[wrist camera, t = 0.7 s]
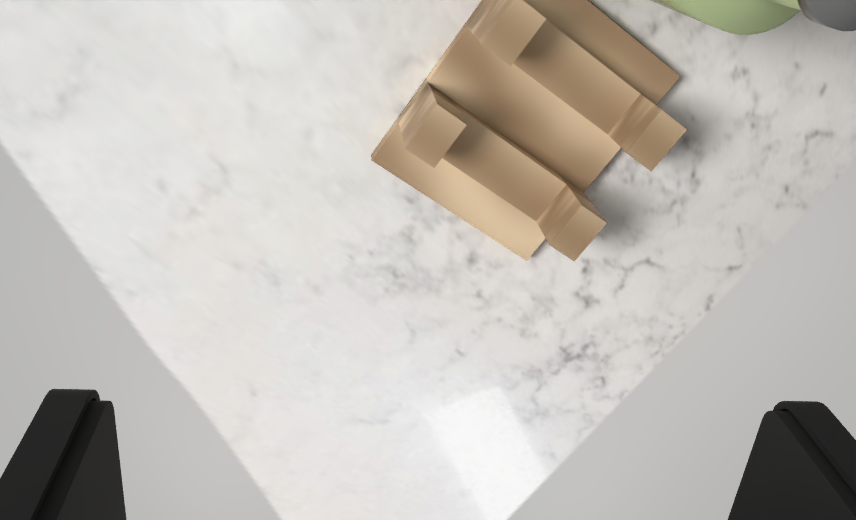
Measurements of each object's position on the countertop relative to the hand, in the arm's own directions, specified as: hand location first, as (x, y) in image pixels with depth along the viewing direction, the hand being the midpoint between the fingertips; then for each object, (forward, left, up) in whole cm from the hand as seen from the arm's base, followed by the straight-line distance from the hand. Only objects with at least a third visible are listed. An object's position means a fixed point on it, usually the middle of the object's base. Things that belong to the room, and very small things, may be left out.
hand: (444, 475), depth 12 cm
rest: (-2, +8, -30) cm, 31 cm away
